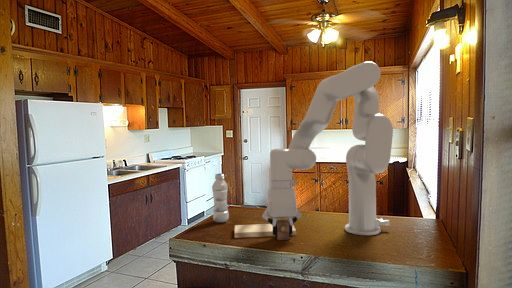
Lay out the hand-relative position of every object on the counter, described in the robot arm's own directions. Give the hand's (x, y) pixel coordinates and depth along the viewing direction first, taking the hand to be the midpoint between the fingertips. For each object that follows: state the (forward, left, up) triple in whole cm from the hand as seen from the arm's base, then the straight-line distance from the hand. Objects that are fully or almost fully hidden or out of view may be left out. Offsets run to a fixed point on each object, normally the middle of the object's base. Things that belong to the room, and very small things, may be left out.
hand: (282, 235), depth 115 cm
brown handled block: (0, -5, -1) cm, 5 cm away
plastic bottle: (+23, -23, -1) cm, 32 cm away
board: (+6, -7, -1) cm, 9 cm away
